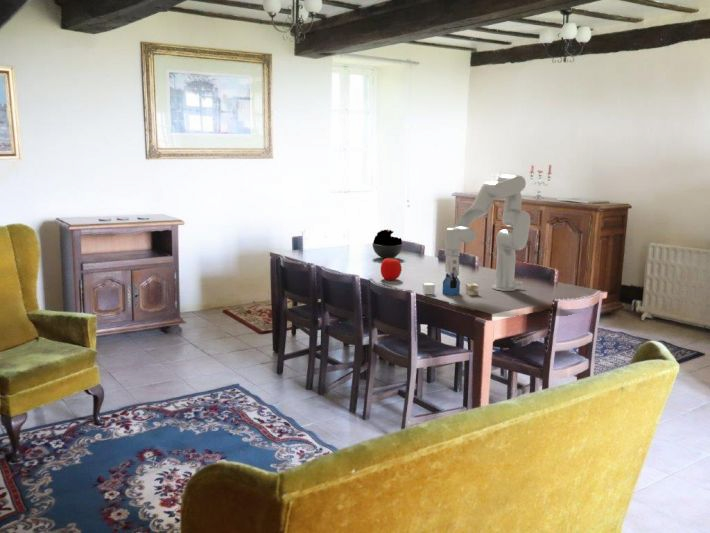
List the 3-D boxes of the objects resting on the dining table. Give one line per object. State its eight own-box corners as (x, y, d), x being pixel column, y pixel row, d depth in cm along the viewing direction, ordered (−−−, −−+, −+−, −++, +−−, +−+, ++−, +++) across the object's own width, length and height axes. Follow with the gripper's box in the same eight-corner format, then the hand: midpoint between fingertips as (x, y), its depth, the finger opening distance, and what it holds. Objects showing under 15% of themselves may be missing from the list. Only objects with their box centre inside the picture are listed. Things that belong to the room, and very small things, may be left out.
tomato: (383, 276, 362) (384, 254, 360) (403, 278, 358) (404, 256, 356) (377, 281, 351) (377, 258, 348) (397, 282, 347) (398, 260, 344)
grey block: (432, 292, 327) (432, 282, 326) (434, 294, 322) (434, 285, 321) (422, 292, 326) (423, 282, 325) (424, 294, 321) (425, 285, 320)
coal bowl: (389, 255, 433) (390, 227, 429) (408, 259, 417) (409, 231, 413) (366, 257, 421) (366, 229, 418) (384, 262, 405) (385, 233, 402)
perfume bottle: (449, 291, 329) (449, 268, 326) (459, 293, 325) (460, 270, 322) (442, 293, 324) (443, 270, 322) (453, 295, 320) (453, 272, 318)
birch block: (475, 292, 327) (475, 283, 326) (478, 295, 322) (478, 285, 321) (465, 293, 327) (466, 283, 326) (468, 295, 322) (468, 285, 321)
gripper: (464, 255, 312) (462, 289, 316) (454, 249, 329) (453, 282, 332) (449, 255, 311) (448, 289, 315) (440, 249, 328) (439, 282, 332)
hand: (450, 285), depth 324 cm, fingers closed on perfume bottle, 9 cm apart
